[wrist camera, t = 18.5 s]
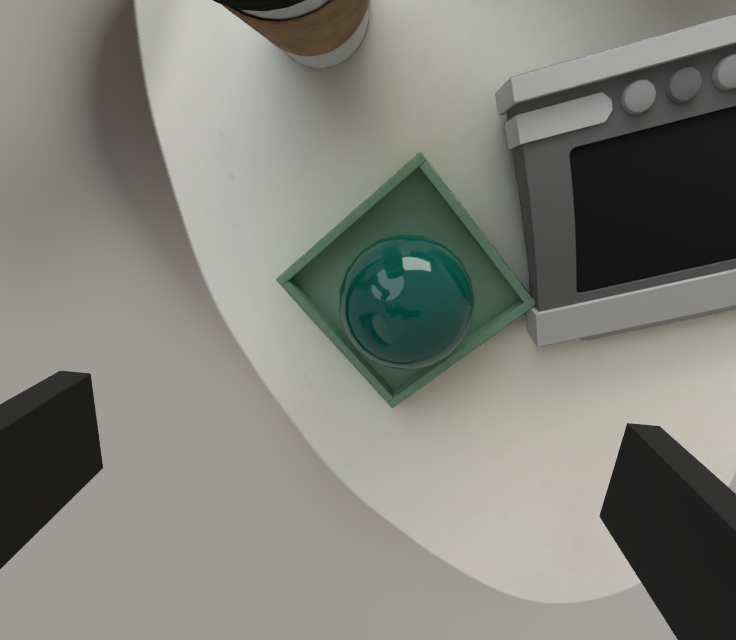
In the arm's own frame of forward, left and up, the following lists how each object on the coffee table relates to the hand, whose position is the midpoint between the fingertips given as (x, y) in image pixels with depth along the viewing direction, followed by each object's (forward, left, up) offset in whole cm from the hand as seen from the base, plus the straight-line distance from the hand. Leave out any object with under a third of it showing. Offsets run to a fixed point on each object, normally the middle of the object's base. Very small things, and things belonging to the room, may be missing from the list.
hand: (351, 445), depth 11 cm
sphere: (+1, +1, -20) cm, 20 cm away
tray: (+1, +1, -20) cm, 20 cm away
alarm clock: (+7, +17, -20) cm, 27 cm away
